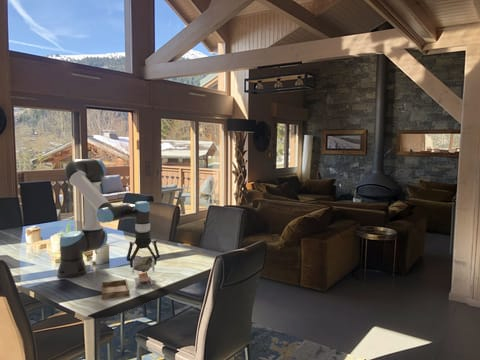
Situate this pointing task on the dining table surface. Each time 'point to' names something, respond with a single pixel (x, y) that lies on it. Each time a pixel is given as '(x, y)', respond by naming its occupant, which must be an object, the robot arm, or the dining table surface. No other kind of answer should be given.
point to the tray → (114, 289)
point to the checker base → (143, 282)
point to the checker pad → (143, 276)
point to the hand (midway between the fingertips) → (143, 271)
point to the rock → (143, 265)
